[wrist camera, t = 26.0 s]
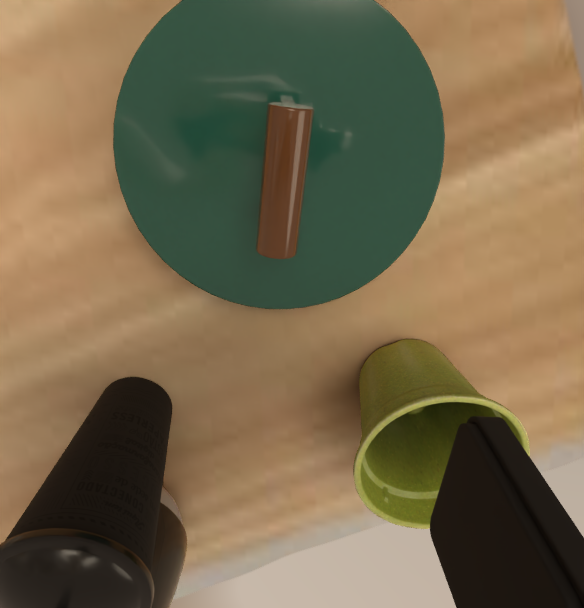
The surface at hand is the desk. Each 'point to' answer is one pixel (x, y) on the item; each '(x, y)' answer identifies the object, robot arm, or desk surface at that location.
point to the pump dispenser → (168, 552)
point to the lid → (279, 146)
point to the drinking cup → (95, 510)
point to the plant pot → (413, 428)
